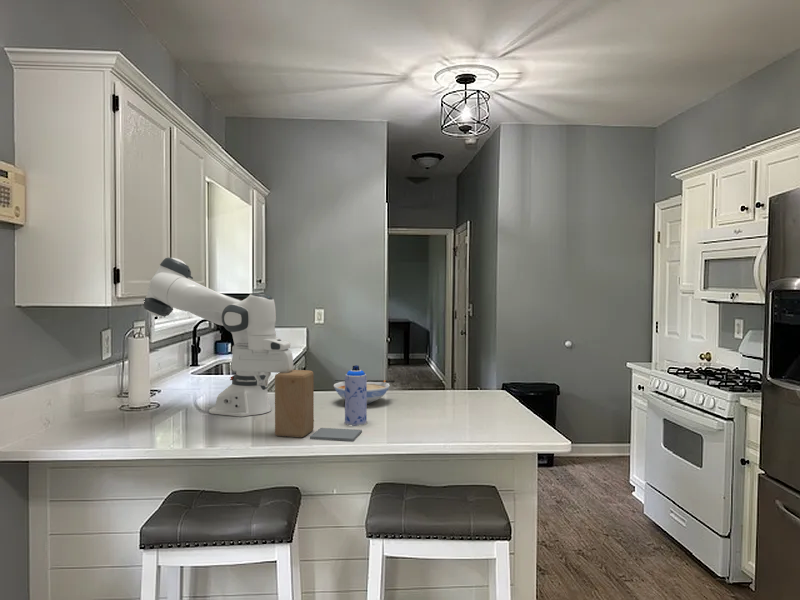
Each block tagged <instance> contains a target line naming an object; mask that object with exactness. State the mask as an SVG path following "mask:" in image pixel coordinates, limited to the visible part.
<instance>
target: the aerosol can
mask: <svg viewBox="0 0 800 600" xmlns="http://www.w3.org/2000/svg"><path fill="white" fill-rule="evenodd" d="M367 377H368V376H367V373H366V372H365V371H364V370H362V369H360V366H359V365H352V369H350V370H348V371H347V373H345V376H344V380H345V399H344V425H347V426H349V425H352V427H360V426H359V425H361V426H365V425H367V424H366V423H368V421H367V415H368V414H367V413H368V412H367V411H368V410H367V409H368V408H367V405H368V404H367V380H368V378H367ZM364 424H365V425H364Z"/></svg>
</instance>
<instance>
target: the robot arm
mask: <svg viewBox="0 0 800 600" xmlns="http://www.w3.org/2000/svg"><path fill="white" fill-rule="evenodd" d="M193 279H194V277H193V276H192V271H191V269H190V267H189V265H187V264H186V262H184V261H183V260H182V259H179V258H177V257H165V258H164V259H162V261H161V262H160V263H159V267H158V268H157V270H156V271H155V272H154V275H153V276H152V278H151V279H150V281H149V285H148V289H147V291H148V292H146V294H147V296H145V297H146V298H145V300H144V299H143V301H145V302H144V304H143V303H142V305H143V309H144V310H145V311H147V313H149V314H150V315H153V316H155V317H167V316H169V315H171V313H172V312H173V311H174V309H177V310H179V311H184V312H187V313H188V312H189V313H190V314H192V315H194V316H196V317H199V318H202V319H203V320H206V321H208V322H211V323H213V324H216V325H219V326H223V327H224V329H225V330H226V331H228V332H230V333H231V335H232V339H233V345H232V348H231V353H232V354H231V355H232V358H231V369H232V371H233V372H236V374H234V375H231V376H230V377H229V381H231V384H230V385H229V386H227V388H225V389H224V390H222V391H221V392H220V393H219V394H218V395H217V397H216V400H215V406H213V407H211V408H210V409H209V410H208V411H209V412H208V413H209V414H213V415H224V416H231V417H248V416H255V415H261V414H266V413H269V412H271V411H272V409H271V408H272V407H271V405H270V404H271V403H270V401H269V392H268V386H269V378H270V377H271V376H272V373H276V374H278V373H280V372H283V373H288V372H291V371H292V370H294V358H293V353H292V351H291V350H290V348H291V342H290V341H287V340H284V339H282V338H279V337H277V333H276V331H277V330H276V322H277V317H276V316H277V314H276V313H277V312H276V303H275V299H274V298H273V296H271V295H270V294H265V293H260V292H259V293H255V292H253V293H251V294H249V295H248V296H247V297H246V298H244V299H243V300H241V299H239V298H237V297H236V298H235V297H233V296H230V295H228V294H224V293H221V292H218V291H216V290H213V289H212V288H209V287H207V286H204V285H203V284H201V283H198V282H196V281H194V280H193Z"/></svg>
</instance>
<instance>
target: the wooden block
mask: <svg viewBox="0 0 800 600" xmlns="http://www.w3.org/2000/svg"><path fill="white" fill-rule="evenodd" d="M314 385H315V383H314V371H312V370H308V369H307V370H306V369H305V370H304V369H303V370H302V369H293V370H292V371H291V372H288V373H283V372H280V373H276V374H275V376H274V434H275V436H277V437H286V436H287V437H288V438H289V437H290V438H304V437H306V436H307V435H309V433H311V432H312V431H314V427H315V426H314V424H315V423H314V422H315V421H314V418H315V416H314V415H315V414H314V411H315V410H314V402H315V401H314V400H315V399H314V397H315V396H314Z"/></svg>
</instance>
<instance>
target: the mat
mask: <svg viewBox="0 0 800 600" xmlns="http://www.w3.org/2000/svg"><path fill="white" fill-rule="evenodd" d="M362 432H363V430H362V429H355V428H335V427H333V428H331V427H319V428H318V429H317V430H316V431H315V432H313V433H312V434H311V435H310V436H309V439H310V440H319V441H320V440H322V441H340V442H355V440H356V439H357V438H358V437H359V436H360V435H361V434H362Z"/></svg>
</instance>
